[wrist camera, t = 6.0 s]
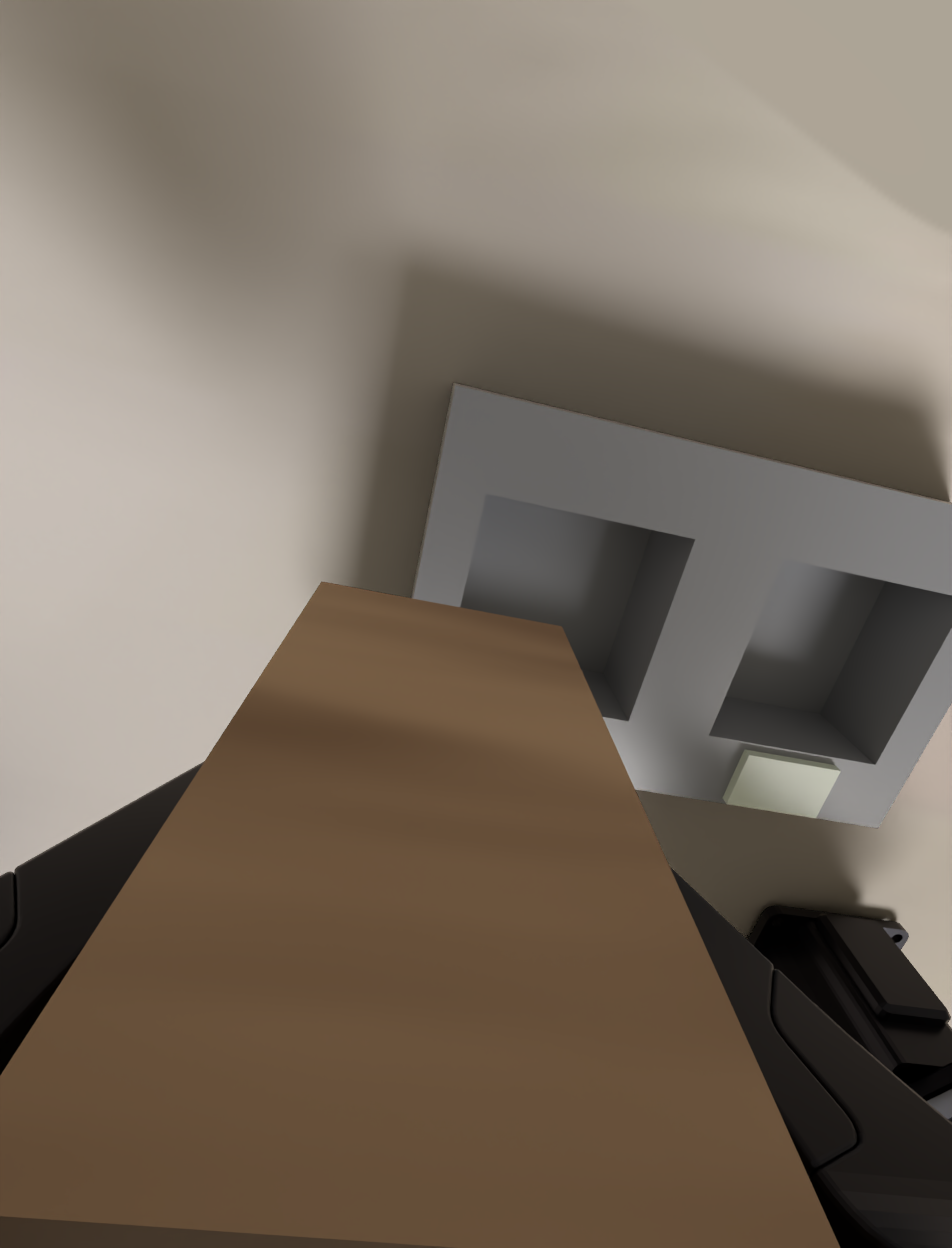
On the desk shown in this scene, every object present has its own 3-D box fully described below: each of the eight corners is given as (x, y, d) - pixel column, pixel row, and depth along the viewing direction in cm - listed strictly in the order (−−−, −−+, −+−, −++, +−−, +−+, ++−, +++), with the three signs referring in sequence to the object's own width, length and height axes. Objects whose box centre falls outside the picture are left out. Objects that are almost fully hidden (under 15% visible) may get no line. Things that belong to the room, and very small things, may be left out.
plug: (507, 817, 12) (606, 1586, 4) (296, 785, 11) (-12, 1582, 4) (562, 626, 10) (853, 1277, 3) (321, 581, 10) (-87, 1209, 2)
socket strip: (816, 764, 23) (884, 834, 19) (392, 690, 21) (382, 754, 17) (951, 502, 19) (1064, 531, 16) (453, 382, 17) (455, 385, 14)
